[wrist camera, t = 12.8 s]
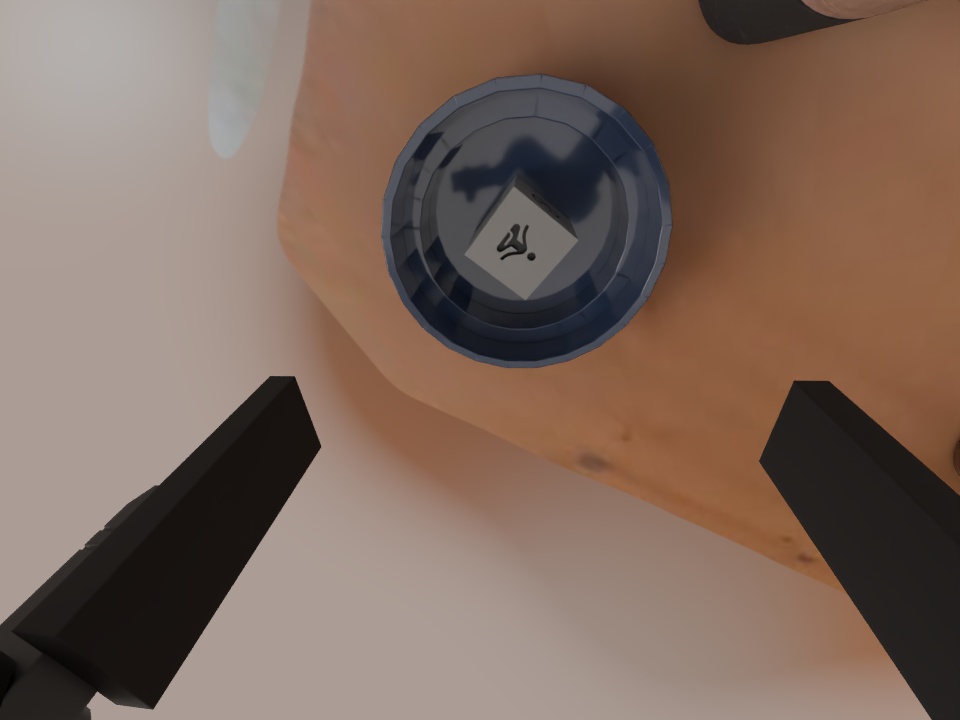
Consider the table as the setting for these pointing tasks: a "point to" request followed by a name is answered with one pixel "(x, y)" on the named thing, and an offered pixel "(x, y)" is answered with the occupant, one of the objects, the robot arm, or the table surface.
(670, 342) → the table surface
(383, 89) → the table surface
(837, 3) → the travel mug
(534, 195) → the dice cube
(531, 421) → the table surface
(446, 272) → the blue round bowl
